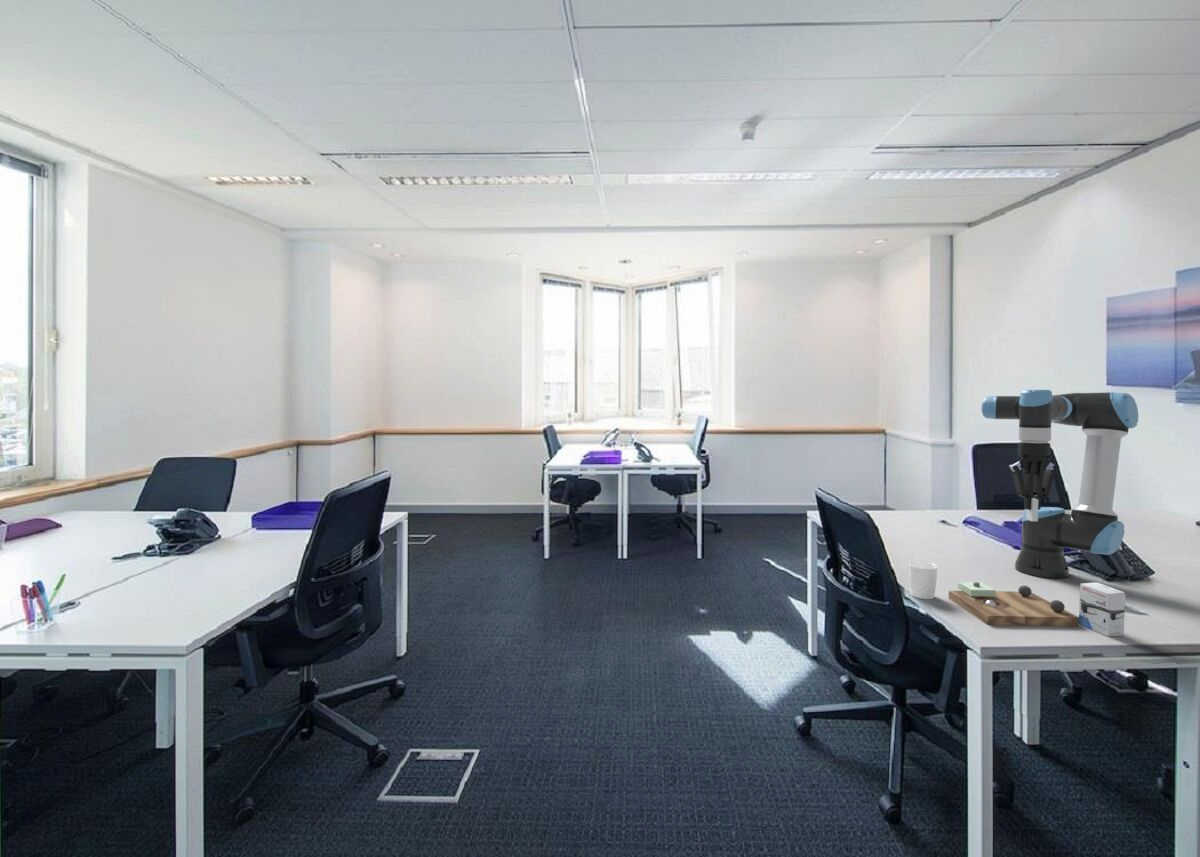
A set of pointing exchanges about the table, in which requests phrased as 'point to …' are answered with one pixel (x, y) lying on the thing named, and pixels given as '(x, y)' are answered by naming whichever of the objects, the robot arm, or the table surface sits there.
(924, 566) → the white cup
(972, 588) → the mint green square lid
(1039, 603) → the wooden cutting board
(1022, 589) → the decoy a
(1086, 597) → the ink box
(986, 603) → the steel ball
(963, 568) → the table surface
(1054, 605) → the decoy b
